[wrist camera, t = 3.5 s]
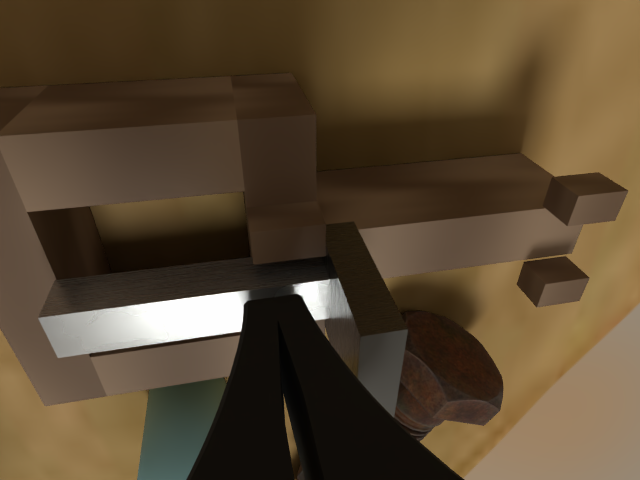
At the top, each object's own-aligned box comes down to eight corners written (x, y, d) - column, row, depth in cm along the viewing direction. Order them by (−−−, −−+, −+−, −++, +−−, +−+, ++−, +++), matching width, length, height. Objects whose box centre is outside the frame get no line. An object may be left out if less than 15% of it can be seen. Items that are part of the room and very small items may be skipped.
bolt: (286, 452, 30) (411, 290, 23) (351, 494, 29) (498, 344, 22) (249, 537, 24) (398, 360, 17) (328, 589, 24) (510, 431, 17)
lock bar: (80, 339, 13) (34, 484, 9) (43, 255, 11) (-29, 396, 8) (349, 301, 14) (394, 417, 11) (354, 221, 12) (408, 329, 9)
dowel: (157, 420, 22) (142, 557, 17) (141, 373, 20) (119, 512, 15) (231, 407, 23) (236, 536, 18) (222, 360, 21) (225, 491, 16)
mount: (74, 319, 18) (33, 440, 13) (-25, 89, 13) (-143, 167, 8) (490, 264, 21) (562, 348, 16) (547, 59, 16) (672, 106, 11)
